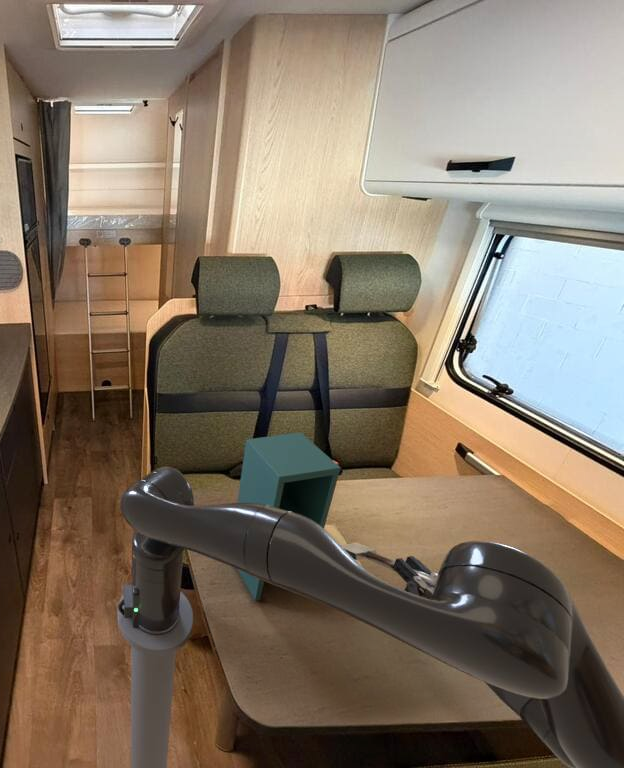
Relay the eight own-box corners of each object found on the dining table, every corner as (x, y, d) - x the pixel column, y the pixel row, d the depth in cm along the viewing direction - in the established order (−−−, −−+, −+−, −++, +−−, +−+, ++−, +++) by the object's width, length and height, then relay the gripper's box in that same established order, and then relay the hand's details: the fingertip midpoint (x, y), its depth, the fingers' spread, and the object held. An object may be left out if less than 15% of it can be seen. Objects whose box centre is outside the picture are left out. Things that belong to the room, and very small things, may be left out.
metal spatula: (338, 552, 84) (337, 543, 84) (357, 548, 84) (356, 540, 85) (434, 595, 63) (433, 584, 63) (459, 590, 64) (457, 579, 64)
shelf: (229, 555, 97) (246, 439, 83) (276, 546, 99) (300, 432, 85) (255, 601, 87) (279, 477, 73) (307, 590, 89) (340, 467, 75)
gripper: (561, 636, 55) (443, 537, 71) (474, 658, 53) (372, 551, 68) (537, 670, 59) (429, 569, 74) (454, 692, 56) (361, 583, 72)
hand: (402, 561), depth 71 cm, fingers closed on metal spatula, 1 cm apart
